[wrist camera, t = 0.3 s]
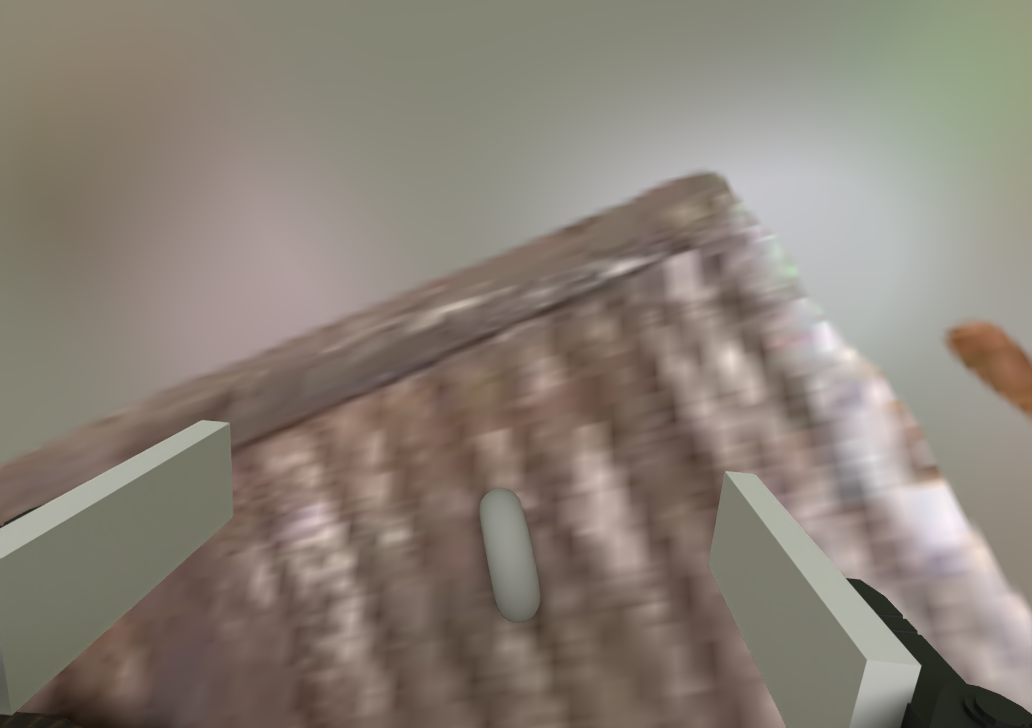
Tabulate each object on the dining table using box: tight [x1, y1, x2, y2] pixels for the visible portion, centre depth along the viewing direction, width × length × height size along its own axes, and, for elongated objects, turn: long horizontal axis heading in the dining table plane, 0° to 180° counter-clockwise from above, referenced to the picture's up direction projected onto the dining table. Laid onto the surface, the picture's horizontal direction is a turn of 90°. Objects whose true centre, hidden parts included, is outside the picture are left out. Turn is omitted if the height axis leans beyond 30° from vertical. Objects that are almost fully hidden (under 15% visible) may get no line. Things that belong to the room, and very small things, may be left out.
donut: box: [479, 488, 540, 622], centre depth 44 cm, size 10×3×10 cm, turn 12°
